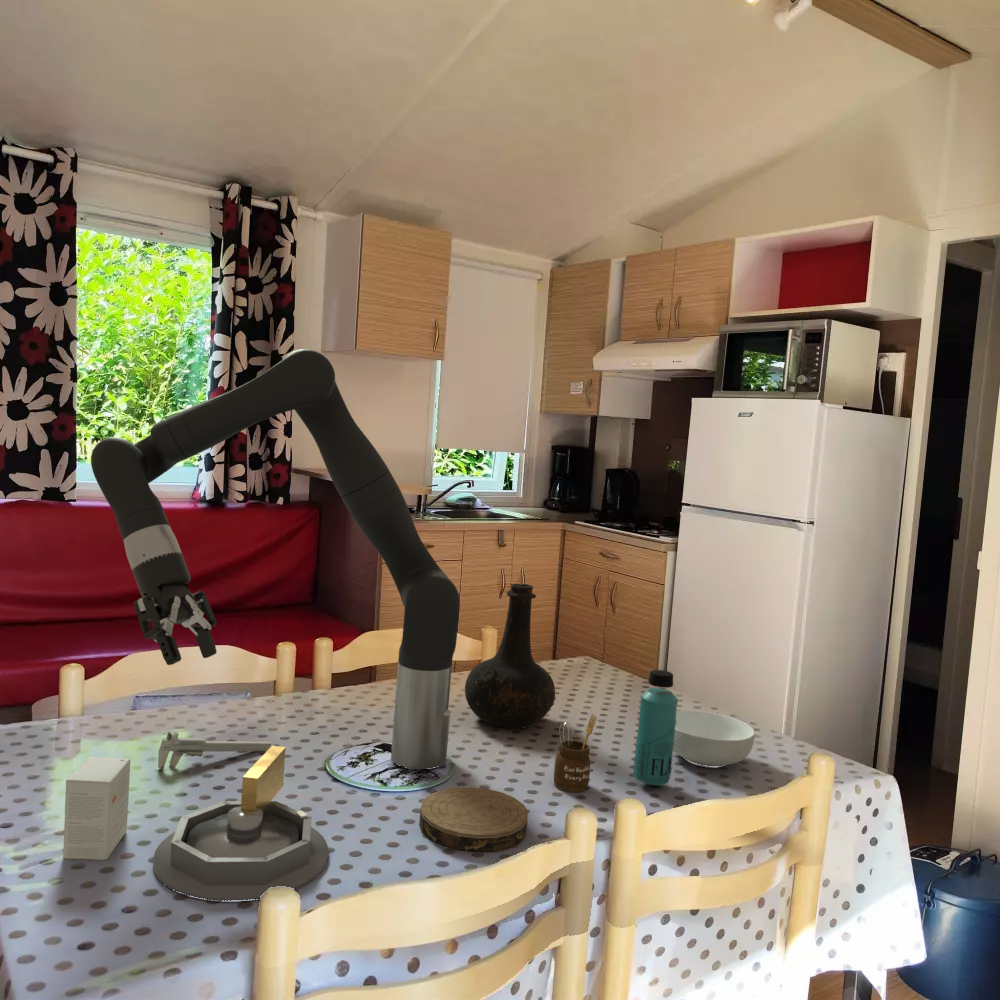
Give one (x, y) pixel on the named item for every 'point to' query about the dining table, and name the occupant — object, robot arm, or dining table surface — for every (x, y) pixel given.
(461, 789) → the wooden log slice
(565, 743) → the utensil holder
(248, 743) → the caliper
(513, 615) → the glass bottle
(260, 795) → the dial
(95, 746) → the dining table surface
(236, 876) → the dial housing
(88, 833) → the small box
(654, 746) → the beverage bottle
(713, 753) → the cereal bowl
